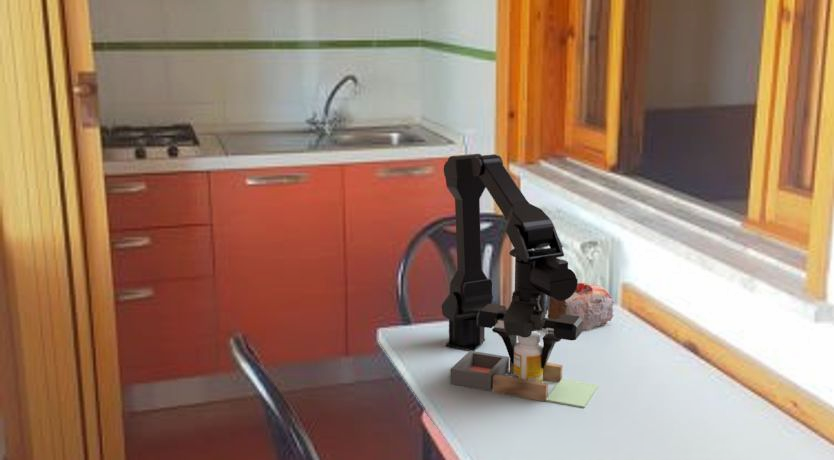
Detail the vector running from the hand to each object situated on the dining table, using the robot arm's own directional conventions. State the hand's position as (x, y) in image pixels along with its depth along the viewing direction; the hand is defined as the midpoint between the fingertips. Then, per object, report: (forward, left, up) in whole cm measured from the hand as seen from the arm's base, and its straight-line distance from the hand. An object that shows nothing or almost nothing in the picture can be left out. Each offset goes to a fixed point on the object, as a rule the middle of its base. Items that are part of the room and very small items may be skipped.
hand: (528, 365), depth 171 cm
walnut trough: (0, 0, -4) cm, 4 cm away
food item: (0, +35, -4) cm, 35 cm away
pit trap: (-9, 0, -4) cm, 10 cm away
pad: (+9, 0, -4) cm, 9 cm away
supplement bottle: (0, 0, -4) cm, 4 cm away
